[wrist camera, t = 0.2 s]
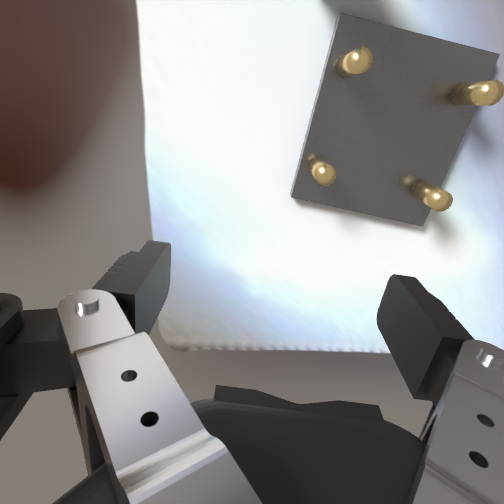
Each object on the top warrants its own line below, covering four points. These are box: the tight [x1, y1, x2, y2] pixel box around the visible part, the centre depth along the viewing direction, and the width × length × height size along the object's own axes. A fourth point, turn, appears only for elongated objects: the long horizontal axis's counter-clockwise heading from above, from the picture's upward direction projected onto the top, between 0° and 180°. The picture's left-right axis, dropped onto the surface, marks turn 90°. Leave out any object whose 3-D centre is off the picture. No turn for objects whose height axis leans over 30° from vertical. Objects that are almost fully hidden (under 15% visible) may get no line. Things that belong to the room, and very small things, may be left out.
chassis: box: [290, 13, 504, 226], centre depth 34 cm, size 18×16×6 cm
